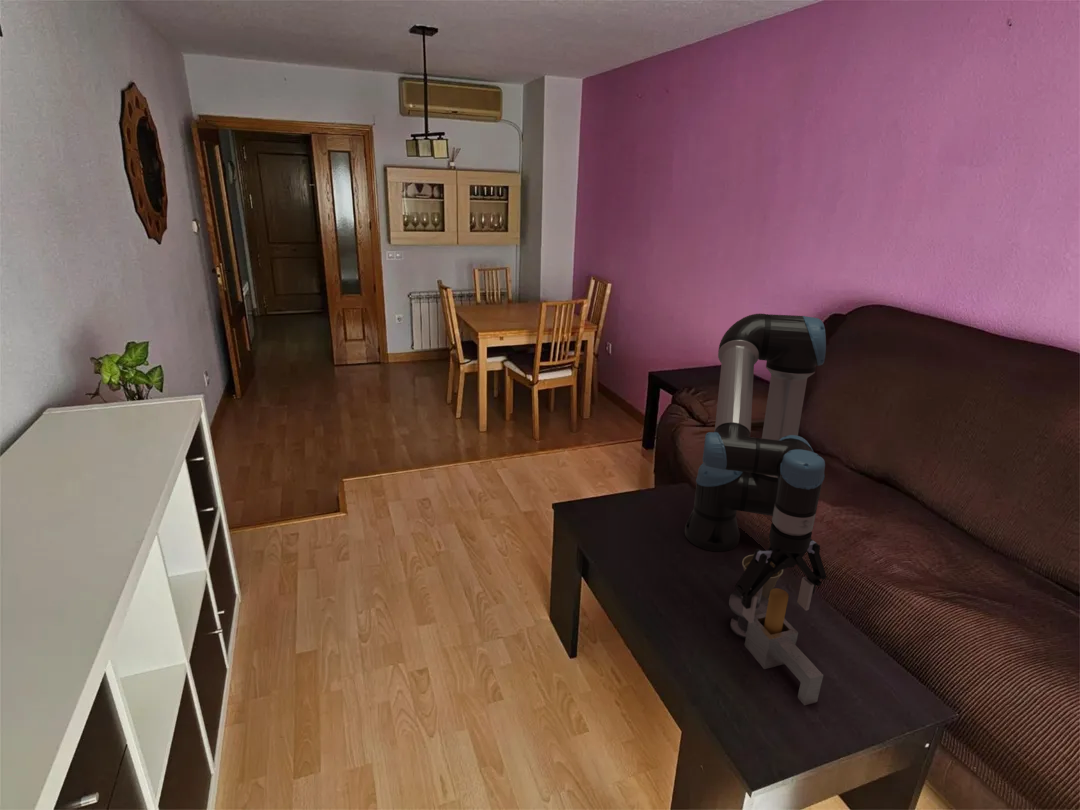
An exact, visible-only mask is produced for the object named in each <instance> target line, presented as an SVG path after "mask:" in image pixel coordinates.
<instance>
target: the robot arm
mask: <svg viewBox="0 0 1080 810" xmlns="http://www.w3.org/2000/svg"><path fill="white" fill-rule="evenodd" d="M825 327H826V326H825V324H824V322H823V321H822V320H821V318H818V317H812V316H806V315H792V314H791V315H790V314H789V315H788V314H765V313H753V314H749V315H747V316H744V317H743V318H741V319H738V320H737V321H736V322H735V323H733V324H732V325H731V326H730V327H729V328H728V329H727V330H726V331H725V333H724V334H723V336H722V338H721V339H720V343H719V346H718V351H717V359H718V360H719V362H720V363H721V364H720V365H721V366H720V375H719V385H718V394H717V396H718V397H717V405H716V414H715V415H716V416H715V425H714V432H713V431H709V432H706V434H705V437H704V446H703V453H702V463H701V465H700V466H699V468H698V469H697V470H698V471H697V476H696V479H695V483H696V487H695V494H694V503H693V508H692V509H693V510H692V511H691V513H690V515H689V517H688V518H687V521H686V523H685V526H684V535H685V538H686V539H687V540H688V541H689V542H690V543H691V544H692V545H694V546H695V547H697V548H700V549H703V550H704V551H705V550H706V551H709V552H711V551H712V552H725V551H726V552H727V551H730V550H733V549H734V548H736V547H737V546H738V544H739V542H740V537H741V532H740V530H739V526H738V520H737V512H738V511H739V512H746V513H750V514H751V513H752V514H758V515H763V516H764V515H765V516H770V517H771V521H772V522H771V524H770V530H769V535H768V538H769V539H768V540H769V546H768V549H767V550H761V549H760V548H756V549H755V550H754V552H753V554H754V555H753V554H752V555H753V559H752V560H751V562H750V563H749V565H748V567H747V568H746V570H745V571H743V573H742V575H741V576H740V578H739V580H738V581H737V584H736V585H735V587H734V588H735V591H738V592H739V593H740V594H741V595H742V596H743V598H742V605H743V606H744V607H743V613H742V615H743V616H744V617H745V618H746V619H747V621H748V622H749V623H753V620H754V615H755V609H756V603H757V596H756V595H755V594H756V593H757V592H758V591H759V590H760V589H761V588H762V586H763V585H764V584H765V583H766V582H767V581H768V580H769V579H770V578H771V576H772V575H773V574H777V573H778V572H779V571H780V570H782V569H783V570H785V569H788V568H790V569H791V568H795V566H797V567H798V568H799V569H800V570H801V572H802V573H803V574H804V575H805V576H804V577H801V582H800V585H799V586H800V587H799V592H798V596H797V602H796V603H797V604H798V605H799V606H800V607H801V608H802V609H803V610H804V611H809V610H810V605H811V600H812V596H813V595H814V594H815V590H816V587H820V586H821V585H822V581H821V580H823V581H824V580H825V579H826V578H827V574H826V573H827V572H826V571H825V567H824V564H823V560H822V558H821V555H820V550H821V545H820V544H819V543H817V542H816V541H814V539H812V535H813V532H812V531H813V529H814V525H815V519H816V515H817V509H818V505H819V499H820V495H821V489H822V485H823V482H824V480H825V475H826V474H825V468H826V461H825V459H824V458H823V457H822V456H820V455H819V454H818V453H816V452H814V449H813V448H812V446H811V445H810V443H809V442H808V440H806V439H805V438H804V437H802V436H800V435H799V430H800V424H801V417H802V412H803V407H804V400H805V394H806V387H807V382H808V378H809V377H811V376H812V375H814V374H815V373H816V369H817V366H818V367H819V366H823V365H824V363H825V359H826V353H827V350H826V349H827V338H826V336H827V334H826V328H825ZM758 361H766V365H765V368H766V369H767V370H768V372H769V373H770V379H769V386H768V387H769V388H768V394H767V401H766V407H765V414H764V415H765V416H764V419H763V420H764V421H763V429H762V436H761V437H755V436H751V432H752V413H753V412H752V409H753V408H752V407H753V395H754V394H753V391H754V376H755V375H754V372H755V371H754V369H755V365H756V364H757V362H758ZM806 553H807V557H808V558H809V561H810V564H811V567H812V570H811V568H810V567H809V565H808V564H807V563H806V561H805V560H804V559H803V558H804V556H805V555H806ZM771 561H772V563H773V564H774V565H775V567H773V566H772V565H770V562H771Z"/></svg>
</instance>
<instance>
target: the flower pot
mask: <svg viewBox="0 0 1080 810" xmlns="http://www.w3.org/2000/svg"><path fill="white" fill-rule="evenodd" d="M753 555H754V553H753V554H749V555H746V556H744V558H742V562H741V565H742V567H743V572H745V570H746V568H747V567H748V565H749V563H750V562H751V560H752V559H753ZM770 565H772V566H773V567H775V565H774V564H773V563H772V561H771V562H770ZM783 573H784V569H782V570H780V571H779V572H778V573H777V574H773V575H772V576H771V578H770V579H769V580H768V581H767V582H766V583H765V584H764V585H763V589H762V595H763V596H764V597H766V598H767V599H768V600H769V596H770V591H771V590H772V589H774V588H776V585H777V581H778V580H779V579H780V577H782V575H783Z"/></svg>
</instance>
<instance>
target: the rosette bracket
mask: <svg viewBox="0 0 1080 810" xmlns="http://www.w3.org/2000/svg"><path fill="white" fill-rule="evenodd" d="M762 589H763V586H762V588H761V589H760V590H759V591H758V592H757V593H756V594H755V595H756V596H757V603H756V609H755V615H754V620H753V623H749V622H748V621H747V619H746V618H745V617H744V616H743V615H742V613H743V607H744V606H743V605H742V598H743V596H742V595H741V594H740V593H739V592H738V591H737V590H735V591H733V592H732V593H731V594H730V596H729V600H728V605H729V608H730V610H731V611H732V612H733V614H735V616H733V617H732V618H731V619H730V623H729V624H730V627H729V628H730V629H731V631H732V632H733V633H734V634H735V635H737V636H738V637H740V638H742V639H744V640H745V641H744V647H745V648H746V649H747V651H748V652H749V653H750V654H751V655H752V657H753V658H754V659H755V660H756V661H757V663H758V664H759V665H760V666H761V667H762V669H763V670H766V669H771V668H774V667H778V666H783V665H785V666H786V667H787V669H789V671H790V672H791V673H792V674H793V675H794V676H795V677H796V679H798V681H799V682H800V683H799V684H800V685H799V689H798V693H797V699H798V700H799V701H800V702H801V703H802V705H803V706H807V705H811V704H815V703H817V702H818V699H819V696H820V691H821V687H822V684H823V678H824V674H823V673H822V672H821V671H820V670H819V669H818V668H817V667H816V666H815V664H814V663H813V662H812V661H811V660H810V659H809V658H808V657H807V656H806V654H804V653H803V651H802V650H801V649H799V647H798V646H797V641H798V638H799V637H798V636H799V632H798V631H797V630H796V628H794V627H793V625H792V624H791V623H790V622H788V621H787V619H786V618H784V623H783V628H782V632H780V633H776V634H772V635H771V634H770V633H769V632H768V631H767V630H766V629H765V628H764V623H765V617H766V612H767V606H768V601H769V600H768V599H767V598H766V597H764V596H763V595H762Z"/></svg>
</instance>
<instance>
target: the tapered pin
mask: <svg viewBox="0 0 1080 810" xmlns="http://www.w3.org/2000/svg"><path fill="white" fill-rule="evenodd" d="M789 597H790V596H789V593H788V592H787V591H786V590H784V589H782V588H777V587H775V588H774V589H772V590H771V591H770V596H769V601H768V606H767V612H766V617H765V623H764V628H765V629H766V630H767V631H768V632H769V633H770V634H771V635H772V634H776V633H780V632H782V628H783V623H784V618H785V616H786V612H787V608H788V603H789ZM785 619H786V618H785Z"/></svg>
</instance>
